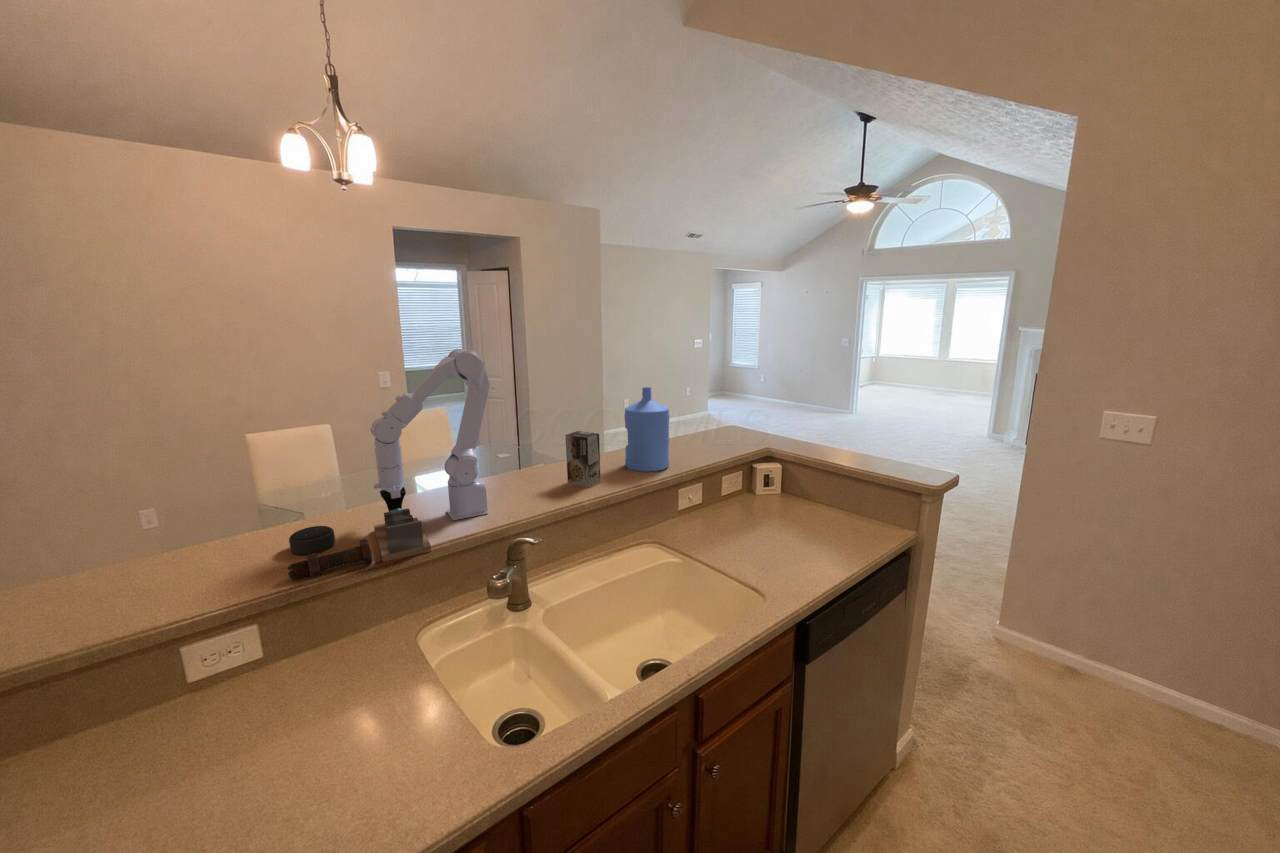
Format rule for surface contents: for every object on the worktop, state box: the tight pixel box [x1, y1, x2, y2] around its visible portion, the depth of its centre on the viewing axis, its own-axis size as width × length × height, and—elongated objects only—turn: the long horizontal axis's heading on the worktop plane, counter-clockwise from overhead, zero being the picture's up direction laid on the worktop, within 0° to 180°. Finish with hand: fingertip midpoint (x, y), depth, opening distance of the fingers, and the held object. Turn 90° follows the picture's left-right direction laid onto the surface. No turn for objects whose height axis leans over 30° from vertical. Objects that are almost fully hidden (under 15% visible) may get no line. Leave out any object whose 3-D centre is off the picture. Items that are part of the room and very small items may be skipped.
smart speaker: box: [288, 525, 336, 556], centre depth 121 cm, size 9×9×4 cm
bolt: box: [286, 538, 373, 580], centre depth 110 cm, size 6×5×15 cm
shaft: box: [388, 507, 404, 525], centre depth 124 cm, size 15×4×4 cm, turn 31°
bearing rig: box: [373, 508, 432, 563], centre depth 124 cm, size 20×10×8 cm, turn 31°
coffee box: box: [564, 430, 601, 488], centre depth 165 cm, size 9×6×16 cm
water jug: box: [624, 386, 670, 473], centre depth 182 cm, size 16×16×28 cm
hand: (395, 517), depth 131 cm, fingers closed
